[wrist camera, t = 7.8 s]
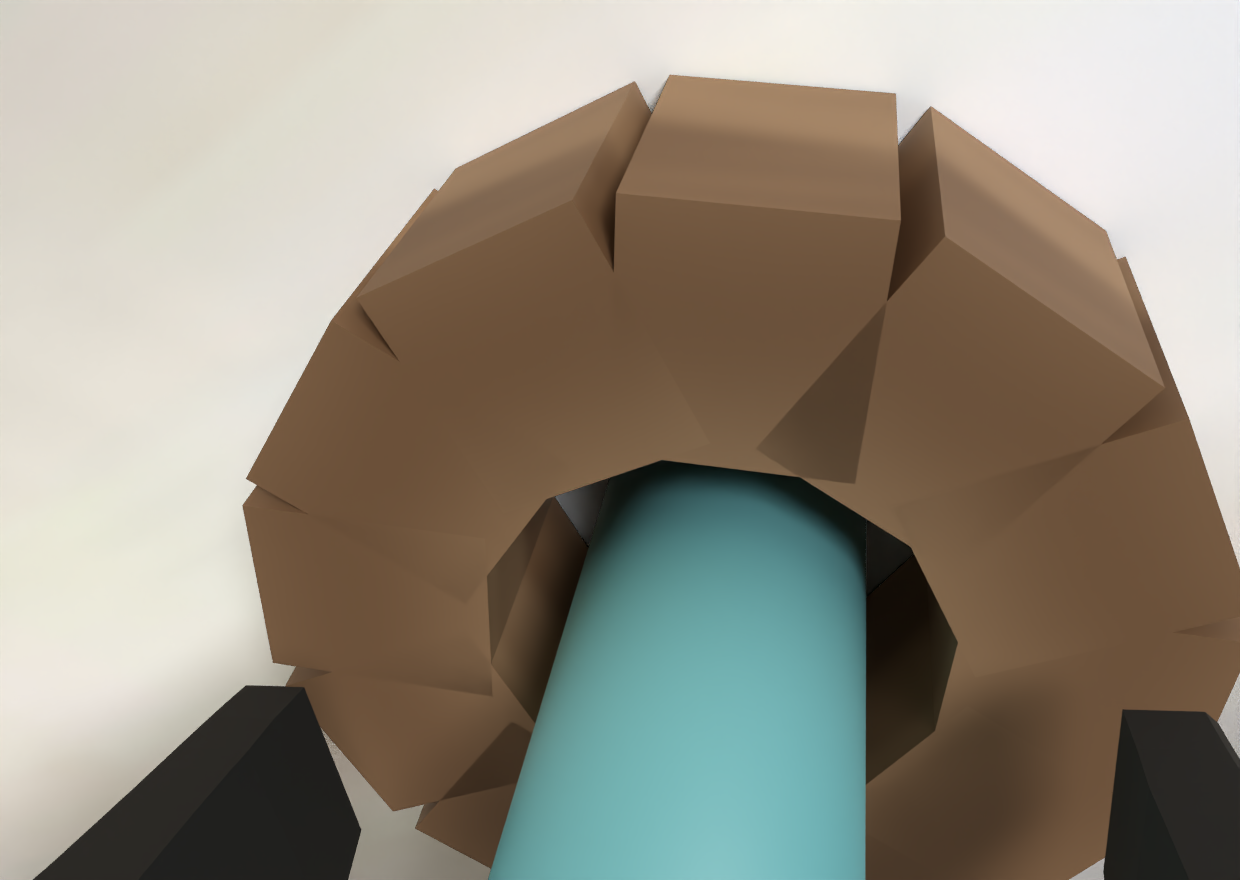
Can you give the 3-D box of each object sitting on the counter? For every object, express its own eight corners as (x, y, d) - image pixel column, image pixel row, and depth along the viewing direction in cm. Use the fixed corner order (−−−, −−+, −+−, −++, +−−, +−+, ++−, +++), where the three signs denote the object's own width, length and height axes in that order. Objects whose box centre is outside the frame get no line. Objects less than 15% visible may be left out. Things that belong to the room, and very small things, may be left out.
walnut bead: (1375, 422, 13) (1497, 617, 10) (819, 845, 18) (810, 1037, 15) (607, -124, 11) (530, -50, 8) (248, 521, 16) (137, 680, 14)
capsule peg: (919, 461, 14) (965, 1208, 7) (768, 610, 15) (695, 1326, 9) (705, 324, 13) (547, 998, 7) (572, 493, 15) (344, 1164, 8)
